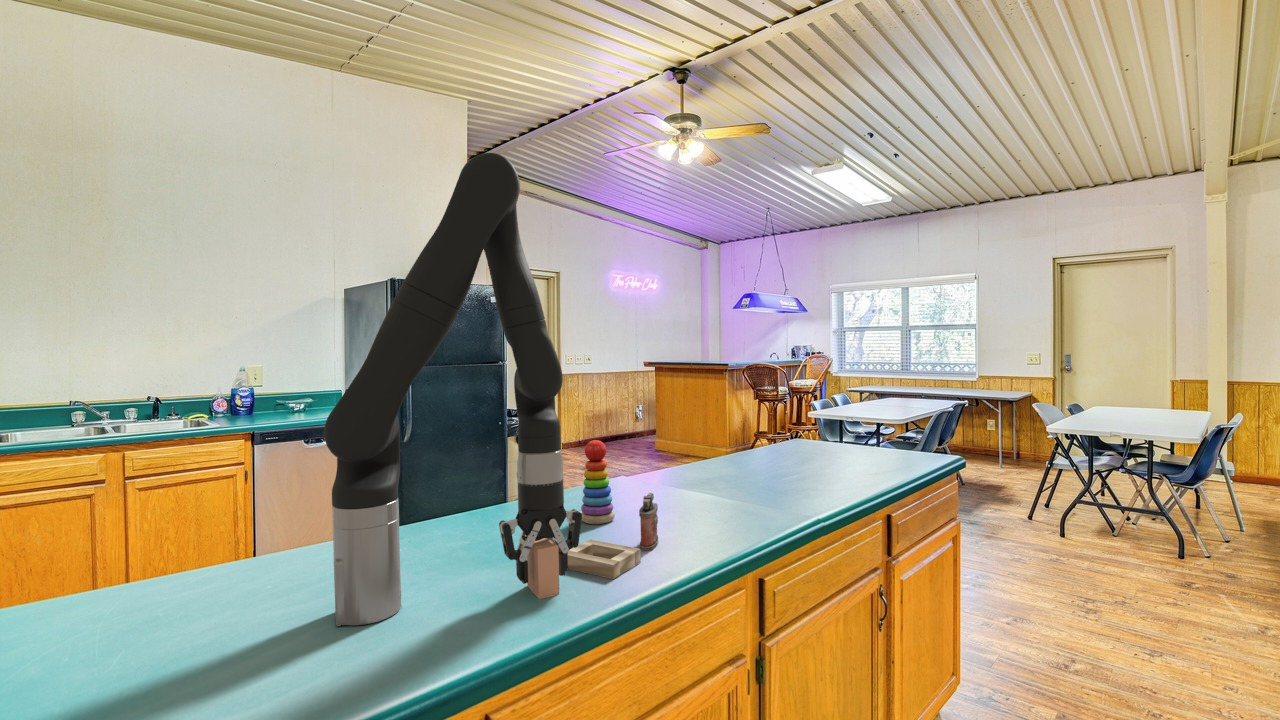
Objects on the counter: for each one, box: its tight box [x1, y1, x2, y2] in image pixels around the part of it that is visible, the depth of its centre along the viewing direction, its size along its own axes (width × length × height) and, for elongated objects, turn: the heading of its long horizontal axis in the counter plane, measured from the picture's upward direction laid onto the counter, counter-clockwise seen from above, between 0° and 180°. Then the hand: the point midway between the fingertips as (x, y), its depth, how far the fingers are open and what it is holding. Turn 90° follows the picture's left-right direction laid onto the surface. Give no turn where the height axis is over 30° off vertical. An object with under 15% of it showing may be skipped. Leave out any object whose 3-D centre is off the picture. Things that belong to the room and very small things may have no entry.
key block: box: [526, 538, 560, 600], centre depth 96 cm, size 4×6×8 cm, turn 29°
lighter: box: [638, 492, 659, 552], centre depth 117 cm, size 8×3×10 cm, turn 168°
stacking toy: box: [580, 439, 615, 525], centre depth 135 cm, size 8×8×19 cm
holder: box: [567, 539, 642, 580], centre depth 107 cm, size 9×12×2 cm
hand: (542, 577), depth 96 cm, fingers open, 5 cm apart
